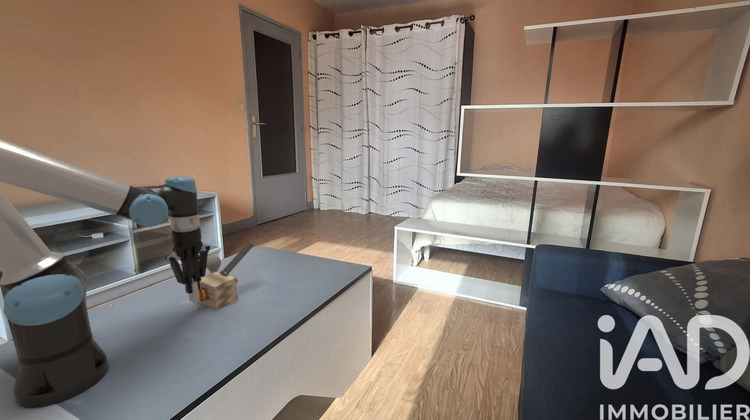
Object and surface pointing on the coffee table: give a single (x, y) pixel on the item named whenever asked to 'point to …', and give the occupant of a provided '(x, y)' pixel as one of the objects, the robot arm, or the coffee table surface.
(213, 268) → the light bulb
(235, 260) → the bar
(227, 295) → the block
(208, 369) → the coffee table surface
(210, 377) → the coffee table surface
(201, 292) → the pin
